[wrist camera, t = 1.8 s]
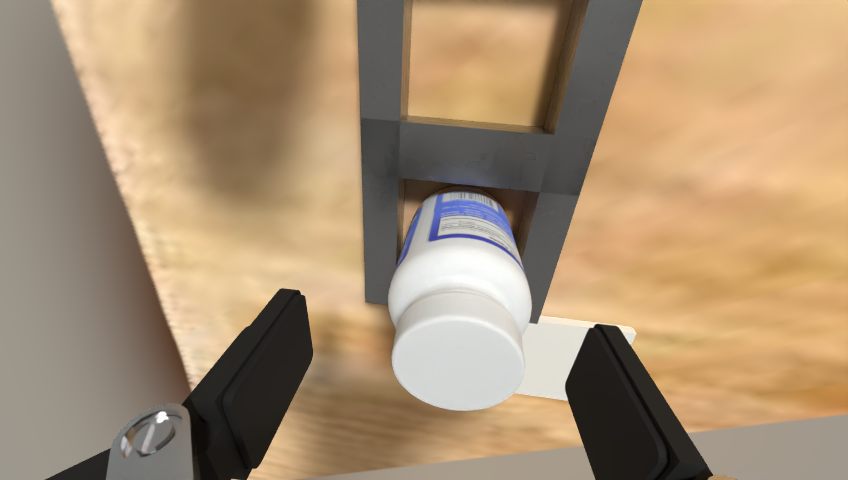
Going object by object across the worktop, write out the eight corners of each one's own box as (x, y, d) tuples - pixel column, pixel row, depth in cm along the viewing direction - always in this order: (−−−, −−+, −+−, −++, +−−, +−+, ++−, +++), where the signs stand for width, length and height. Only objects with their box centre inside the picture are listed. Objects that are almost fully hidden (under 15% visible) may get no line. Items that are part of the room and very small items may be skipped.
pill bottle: (450, 282, 20) (440, 444, 11) (393, 219, 18) (330, 353, 9) (527, 237, 18) (588, 393, 9) (471, 161, 16) (479, 265, 7)
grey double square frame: (650, -101, 11) (686, -134, 9) (530, 301, 20) (537, 323, 18) (369, -112, 12) (353, -145, 10) (374, 282, 20) (365, 302, 18)
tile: (632, 326, 20) (636, 333, 19) (595, 397, 23) (598, 404, 22) (519, 312, 20) (520, 319, 20) (499, 383, 23) (500, 391, 23)
